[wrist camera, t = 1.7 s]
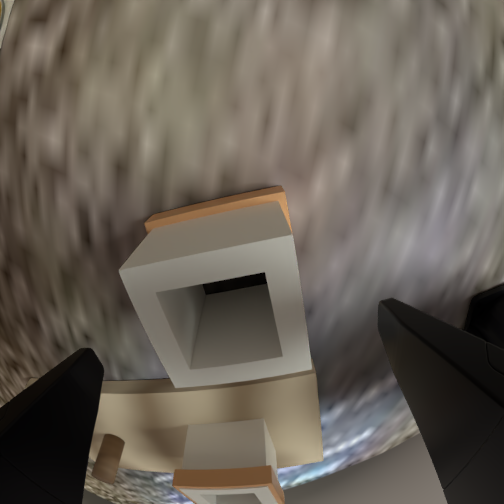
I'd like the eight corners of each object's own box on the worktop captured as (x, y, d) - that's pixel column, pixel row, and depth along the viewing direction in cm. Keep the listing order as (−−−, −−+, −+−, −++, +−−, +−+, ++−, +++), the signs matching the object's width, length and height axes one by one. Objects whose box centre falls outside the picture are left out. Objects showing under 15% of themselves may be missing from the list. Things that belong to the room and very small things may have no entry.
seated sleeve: (267, 414, 16) (272, 484, 12) (280, 452, 18) (285, 508, 14) (182, 422, 17) (172, 487, 12) (208, 458, 19) (204, 511, 14)
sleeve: (280, 184, 12) (302, 221, 7) (300, 298, 14) (321, 372, 10) (153, 214, 12) (106, 263, 8) (189, 318, 15) (171, 393, 10)
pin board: (312, 358, 16) (330, 432, 11) (321, 449, 21) (330, 499, 16) (30, 377, 17) (4, 422, 13) (100, 455, 22) (89, 494, 17)
